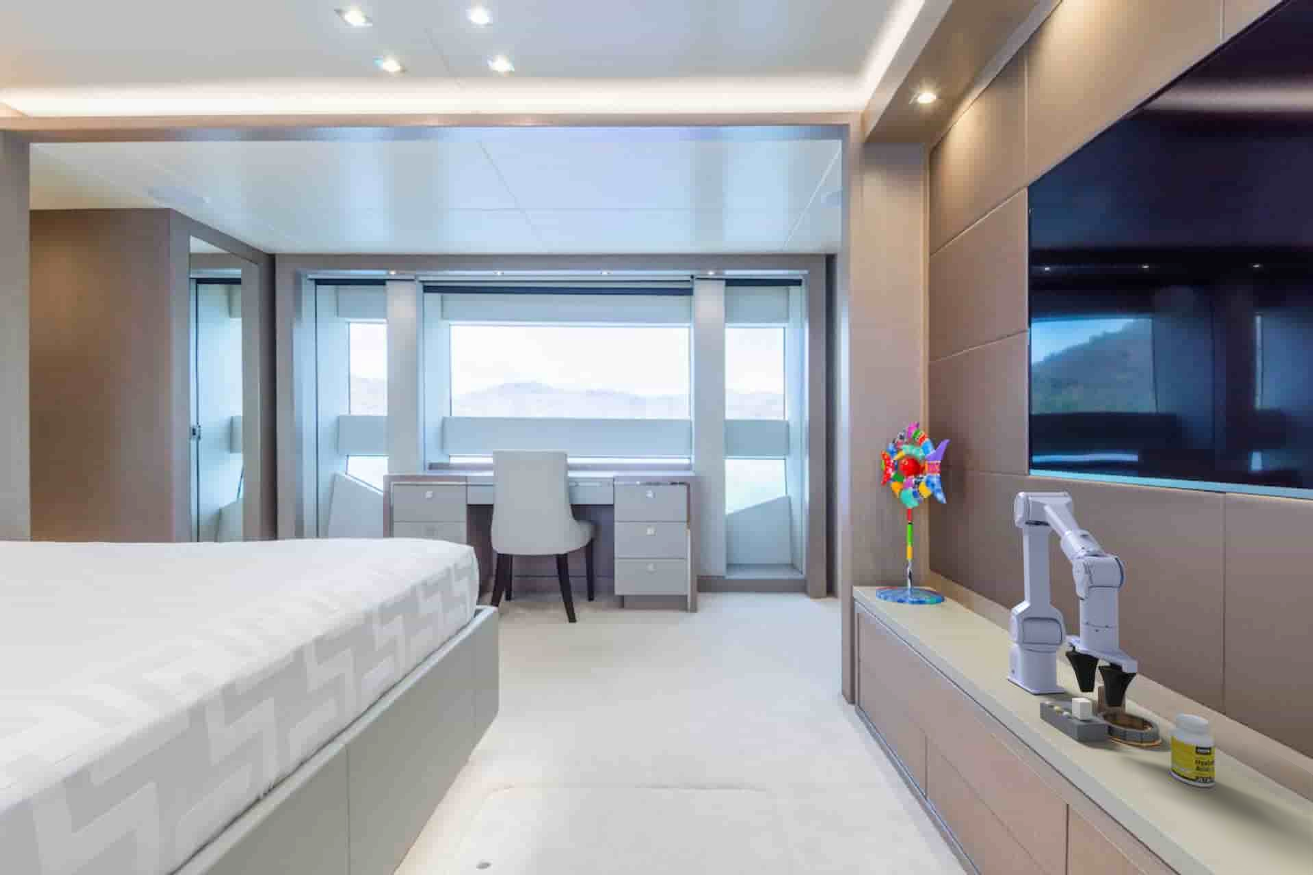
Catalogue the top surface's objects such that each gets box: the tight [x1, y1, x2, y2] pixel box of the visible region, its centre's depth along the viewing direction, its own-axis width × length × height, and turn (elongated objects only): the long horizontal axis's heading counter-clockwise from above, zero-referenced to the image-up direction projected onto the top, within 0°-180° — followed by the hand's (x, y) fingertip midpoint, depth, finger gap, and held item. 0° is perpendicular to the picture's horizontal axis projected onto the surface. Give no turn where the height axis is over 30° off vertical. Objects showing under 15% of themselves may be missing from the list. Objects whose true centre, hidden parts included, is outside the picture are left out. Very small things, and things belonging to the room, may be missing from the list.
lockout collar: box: [1096, 711, 1163, 747], centre depth 119 cm, size 10×10×2 cm
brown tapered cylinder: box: [1097, 685, 1127, 714], centre depth 128 cm, size 4×4×5 cm
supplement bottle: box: [1170, 713, 1216, 788], centre depth 103 cm, size 5×5×10 cm
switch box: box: [1039, 700, 1109, 742], centre depth 122 cm, size 10×6×4 cm, turn 4°
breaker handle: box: [1071, 697, 1093, 720], centre depth 119 cm, size 2×2×3 cm
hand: (1100, 698), depth 115 cm, fingers open, 6 cm apart
